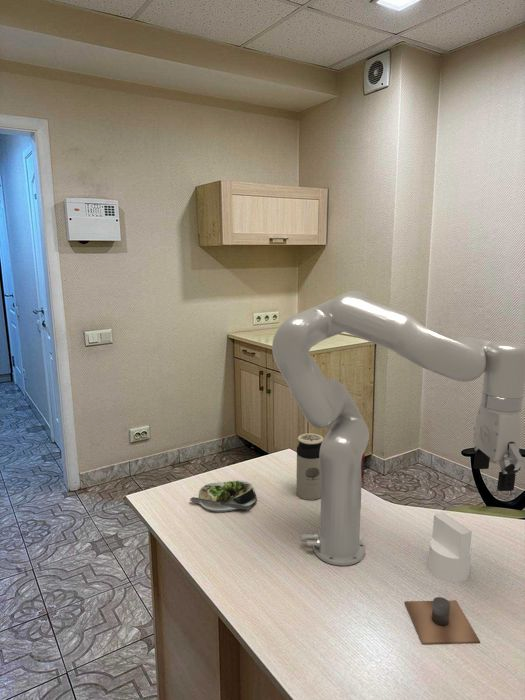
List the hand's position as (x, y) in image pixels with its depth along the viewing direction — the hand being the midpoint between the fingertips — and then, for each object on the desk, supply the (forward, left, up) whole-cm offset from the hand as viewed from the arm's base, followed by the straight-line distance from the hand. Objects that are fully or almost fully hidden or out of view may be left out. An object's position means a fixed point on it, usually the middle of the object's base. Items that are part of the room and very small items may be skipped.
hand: (492, 478), depth 104 cm
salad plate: (-58, +39, -26) cm, 74 cm away
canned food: (-20, +49, -25) cm, 58 cm away
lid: (-14, -11, -26) cm, 31 cm away
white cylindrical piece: (-6, +5, -25) cm, 26 cm away
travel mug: (-34, +41, -25) cm, 59 cm away
